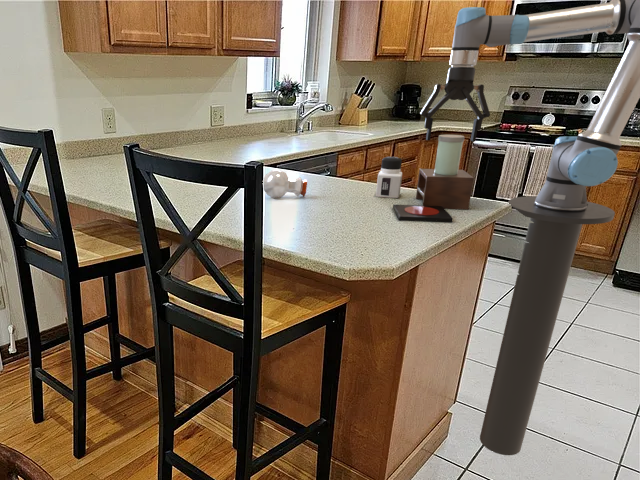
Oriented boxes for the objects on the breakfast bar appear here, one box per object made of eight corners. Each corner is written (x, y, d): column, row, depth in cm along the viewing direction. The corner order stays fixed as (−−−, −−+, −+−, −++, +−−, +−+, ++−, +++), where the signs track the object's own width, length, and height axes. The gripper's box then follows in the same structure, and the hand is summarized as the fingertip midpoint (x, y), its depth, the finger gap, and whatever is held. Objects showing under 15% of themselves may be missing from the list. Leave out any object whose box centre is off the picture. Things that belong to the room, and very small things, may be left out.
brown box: (458, 199, 178) (463, 169, 174) (468, 209, 166) (474, 177, 162) (415, 198, 180) (419, 168, 176) (422, 208, 168) (427, 176, 164)
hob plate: (441, 209, 166) (442, 205, 165) (452, 222, 152) (452, 217, 151) (392, 208, 167) (393, 203, 167) (398, 220, 154) (399, 215, 153)
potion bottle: (259, 200, 183) (301, 205, 184) (262, 189, 173) (307, 194, 174) (261, 175, 185) (303, 180, 186) (265, 163, 175) (309, 168, 176)
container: (398, 198, 180) (403, 159, 174) (375, 196, 182) (379, 158, 177) (399, 193, 186) (404, 156, 181) (377, 192, 189) (381, 155, 183)
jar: (455, 171, 172) (461, 134, 167) (460, 175, 165) (467, 137, 160) (431, 170, 173) (436, 134, 168) (435, 174, 166) (441, 137, 161)
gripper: (502, 67, 158) (488, 139, 167) (417, 66, 161) (407, 137, 170) (510, 67, 151) (495, 143, 160) (421, 66, 154) (411, 140, 163)
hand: (450, 140), depth 165 cm, fingers open, 13 cm apart
